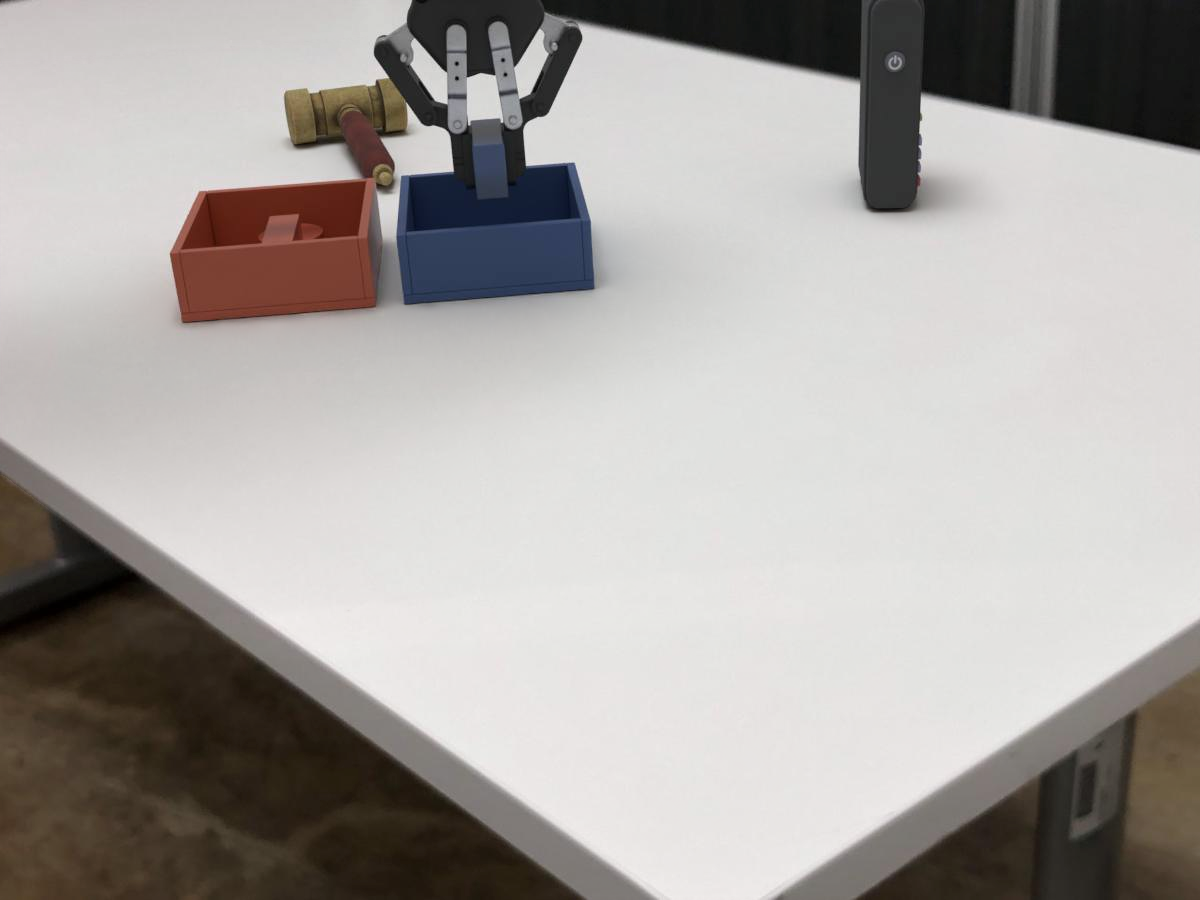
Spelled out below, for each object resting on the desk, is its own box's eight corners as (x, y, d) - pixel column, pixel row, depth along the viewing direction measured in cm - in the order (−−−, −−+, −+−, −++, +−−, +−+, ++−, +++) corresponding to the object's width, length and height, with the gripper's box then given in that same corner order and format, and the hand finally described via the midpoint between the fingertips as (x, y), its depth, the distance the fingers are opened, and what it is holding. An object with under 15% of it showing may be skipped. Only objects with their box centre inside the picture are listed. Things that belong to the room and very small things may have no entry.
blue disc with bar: (527, 196, 99) (523, 142, 97) (458, 202, 99) (452, 147, 97) (520, 151, 108) (516, 101, 107) (456, 157, 108) (451, 106, 106)
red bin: (182, 322, 99) (169, 253, 97) (209, 254, 111) (198, 191, 109) (375, 306, 100) (367, 237, 98) (382, 240, 111) (375, 177, 109)
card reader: (921, 212, 111) (930, -5, 104) (863, 214, 111) (868, -3, 104) (911, 174, 119) (918, -29, 112) (857, 176, 119) (861, -27, 112)
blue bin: (404, 304, 100) (396, 235, 98) (407, 238, 112) (400, 175, 110) (594, 288, 100) (590, 219, 98) (578, 224, 112) (574, 162, 110)
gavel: (447, 143, 121) (318, 161, 119) (452, 199, 123) (325, 218, 121) (394, 70, 138) (281, 84, 136) (399, 120, 141) (288, 135, 138)
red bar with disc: (318, 295, 100) (310, 242, 99) (248, 300, 100) (240, 248, 99) (328, 242, 110) (321, 194, 108) (264, 247, 109) (257, 199, 108)
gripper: (575, -112, 98) (591, 160, 105) (353, -96, 97) (386, 176, 105) (585, -96, 91) (602, 193, 99) (346, -79, 90) (382, 211, 98)
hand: (490, 183), depth 102 cm, fingers closed on blue disc with bar, 2 cm apart
